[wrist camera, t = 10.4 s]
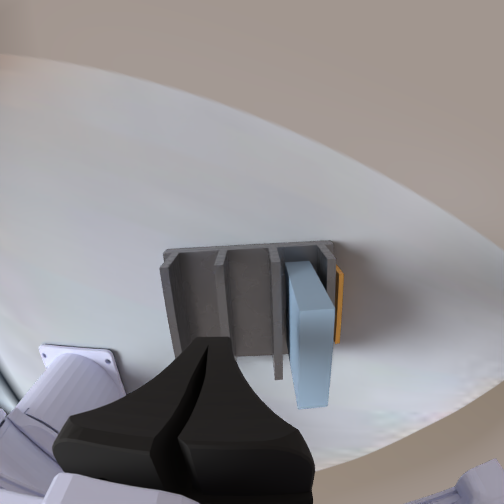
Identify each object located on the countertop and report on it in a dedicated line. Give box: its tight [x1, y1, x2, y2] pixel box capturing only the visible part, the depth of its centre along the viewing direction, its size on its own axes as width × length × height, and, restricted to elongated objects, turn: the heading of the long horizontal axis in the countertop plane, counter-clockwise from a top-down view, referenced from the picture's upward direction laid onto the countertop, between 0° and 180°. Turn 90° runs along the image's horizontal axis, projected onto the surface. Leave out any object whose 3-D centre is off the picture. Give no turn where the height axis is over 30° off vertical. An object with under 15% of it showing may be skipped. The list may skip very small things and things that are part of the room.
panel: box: [285, 261, 335, 409], centre depth 18 cm, size 6×2×7 cm, turn 3°
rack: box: [160, 241, 344, 380], centre depth 21 cm, size 8×11×4 cm
